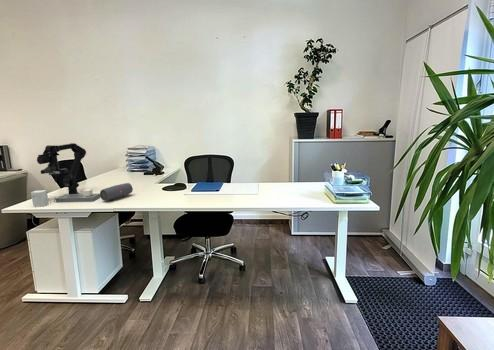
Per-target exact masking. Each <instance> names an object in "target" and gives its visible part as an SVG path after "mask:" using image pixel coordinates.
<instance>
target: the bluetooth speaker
mask: <svg viewBox="0 0 494 350" xmlns="http://www.w3.org/2000/svg"><path fill="white" fill-rule="evenodd" d="M133 190H134V189H133V186H132V184H131V183H129V182H126V183H121V184H115V185H112V186H109V187H106V188H103V189H101V190H100V192H99V193H100V197H101V200H102V201H104V202H105V201H110V200H111V201H115V200H118V199H122V198H124V197H126V196H127V195H129V194H132V193H133Z"/></svg>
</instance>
